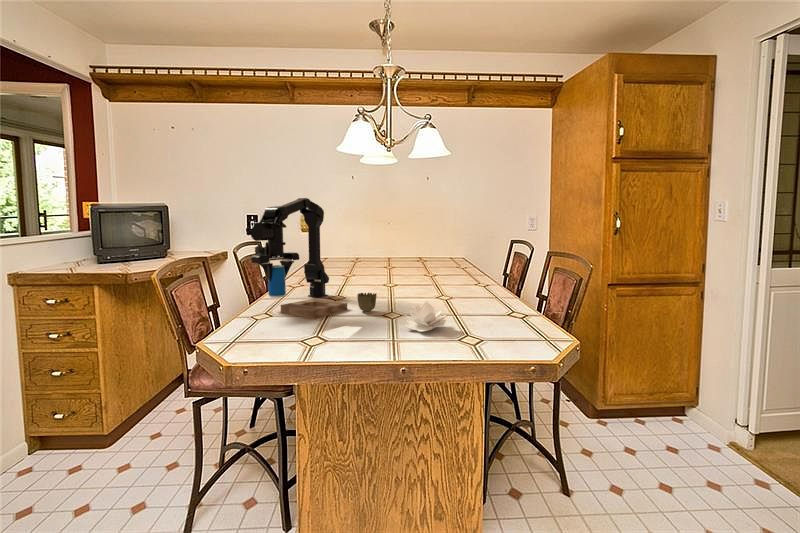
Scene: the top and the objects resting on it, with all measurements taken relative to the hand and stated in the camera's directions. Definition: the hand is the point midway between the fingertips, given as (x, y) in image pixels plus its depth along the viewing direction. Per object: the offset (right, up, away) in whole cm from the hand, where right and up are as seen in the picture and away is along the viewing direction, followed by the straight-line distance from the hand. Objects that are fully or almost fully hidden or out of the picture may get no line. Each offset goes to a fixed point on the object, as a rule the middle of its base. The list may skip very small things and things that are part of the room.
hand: (276, 279), depth 172 cm
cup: (+35, -13, -3) cm, 38 cm away
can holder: (+15, -13, 0) cm, 20 cm away
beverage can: (0, -7, +1) cm, 7 cm away
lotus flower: (+56, -16, -23) cm, 63 cm away
